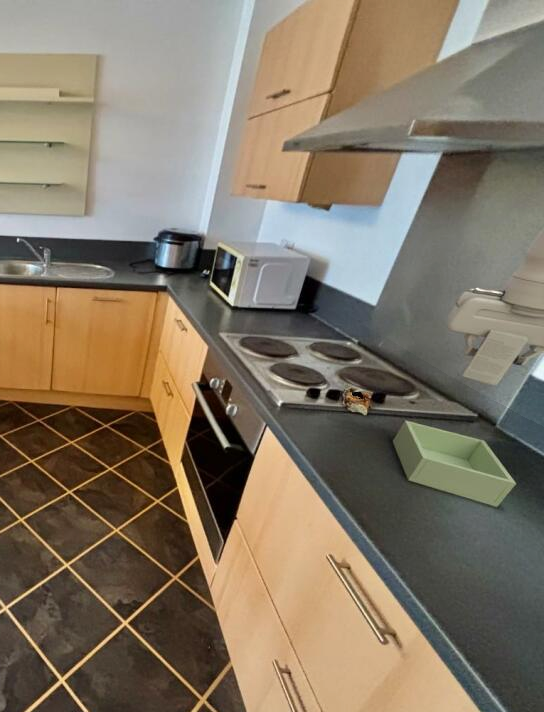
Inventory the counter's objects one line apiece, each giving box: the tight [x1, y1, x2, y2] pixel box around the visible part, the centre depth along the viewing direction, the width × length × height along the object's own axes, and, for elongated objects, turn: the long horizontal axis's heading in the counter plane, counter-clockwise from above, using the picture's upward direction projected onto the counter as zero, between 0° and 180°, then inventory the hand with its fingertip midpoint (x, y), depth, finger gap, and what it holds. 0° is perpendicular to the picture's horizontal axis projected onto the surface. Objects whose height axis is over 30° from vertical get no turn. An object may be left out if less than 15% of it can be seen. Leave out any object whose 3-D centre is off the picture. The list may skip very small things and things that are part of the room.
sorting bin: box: [392, 420, 517, 508], centre depth 85 cm, size 14×16×6 cm
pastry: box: [339, 385, 373, 416], centre depth 109 cm, size 7×12×4 cm, turn 154°
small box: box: [461, 330, 528, 387], centre depth 87 cm, size 8×6×10 cm
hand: (492, 359), depth 87 cm, fingers closed on small box, 6 cm apart
